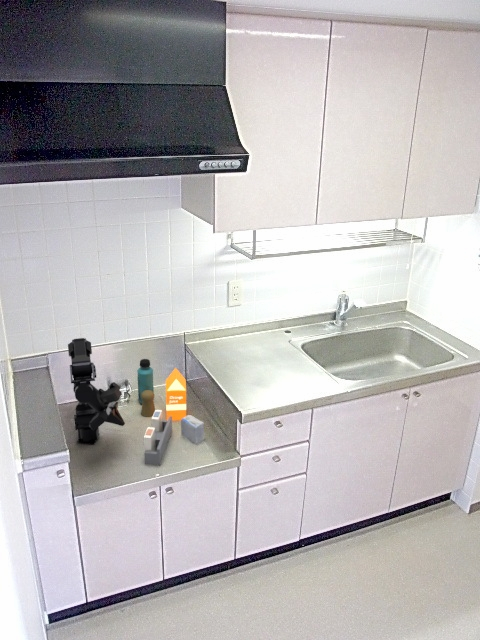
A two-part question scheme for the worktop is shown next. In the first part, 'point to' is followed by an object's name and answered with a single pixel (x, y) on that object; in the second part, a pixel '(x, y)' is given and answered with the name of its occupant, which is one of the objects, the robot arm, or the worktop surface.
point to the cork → (147, 403)
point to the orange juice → (176, 395)
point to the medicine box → (192, 429)
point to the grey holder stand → (160, 444)
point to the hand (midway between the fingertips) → (123, 424)
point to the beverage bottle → (144, 377)
